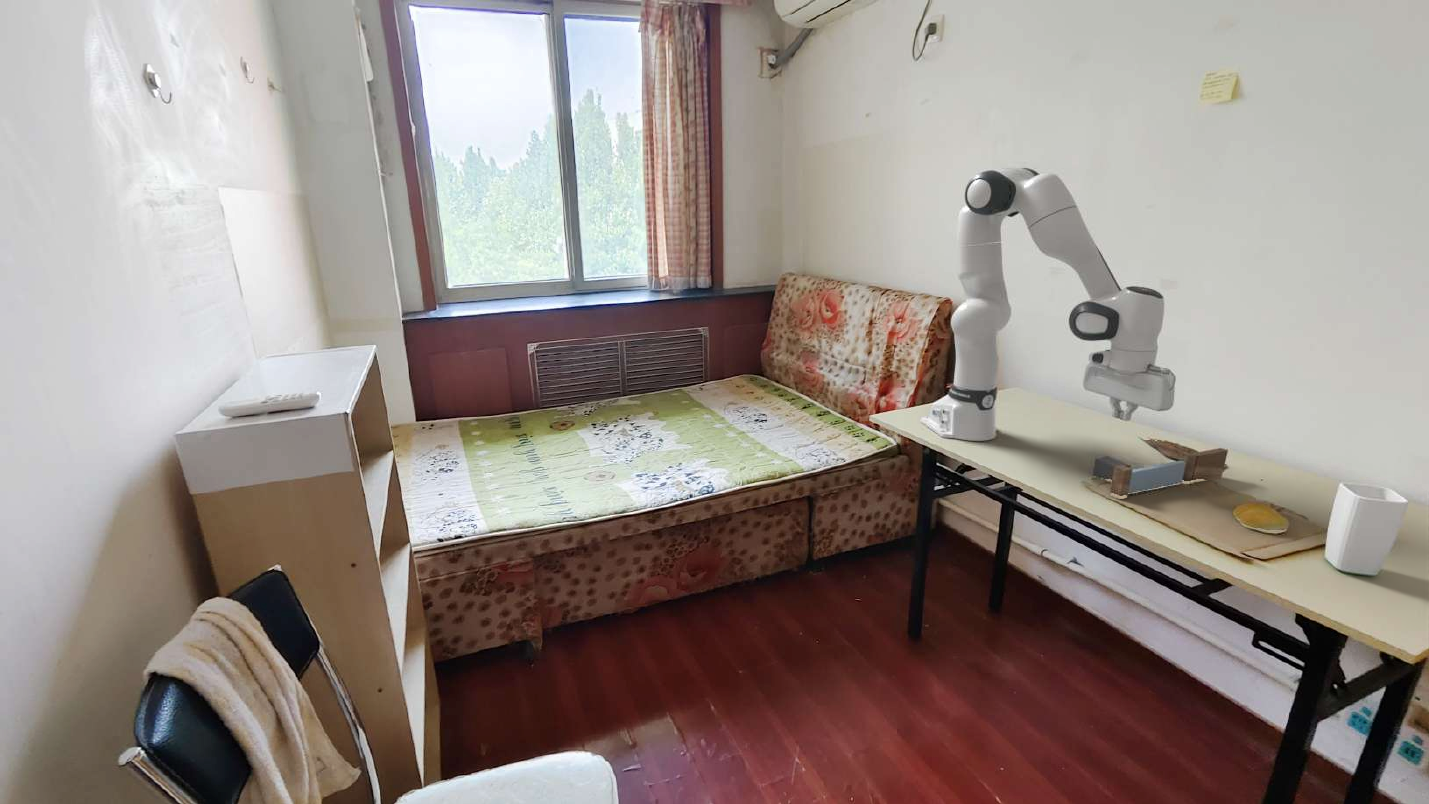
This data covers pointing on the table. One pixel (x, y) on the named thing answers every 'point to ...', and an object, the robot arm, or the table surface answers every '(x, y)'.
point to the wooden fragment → (1172, 449)
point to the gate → (1156, 476)
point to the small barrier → (1195, 468)
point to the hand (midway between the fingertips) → (1121, 418)
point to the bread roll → (1260, 517)
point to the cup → (1363, 527)
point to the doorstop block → (1106, 467)
